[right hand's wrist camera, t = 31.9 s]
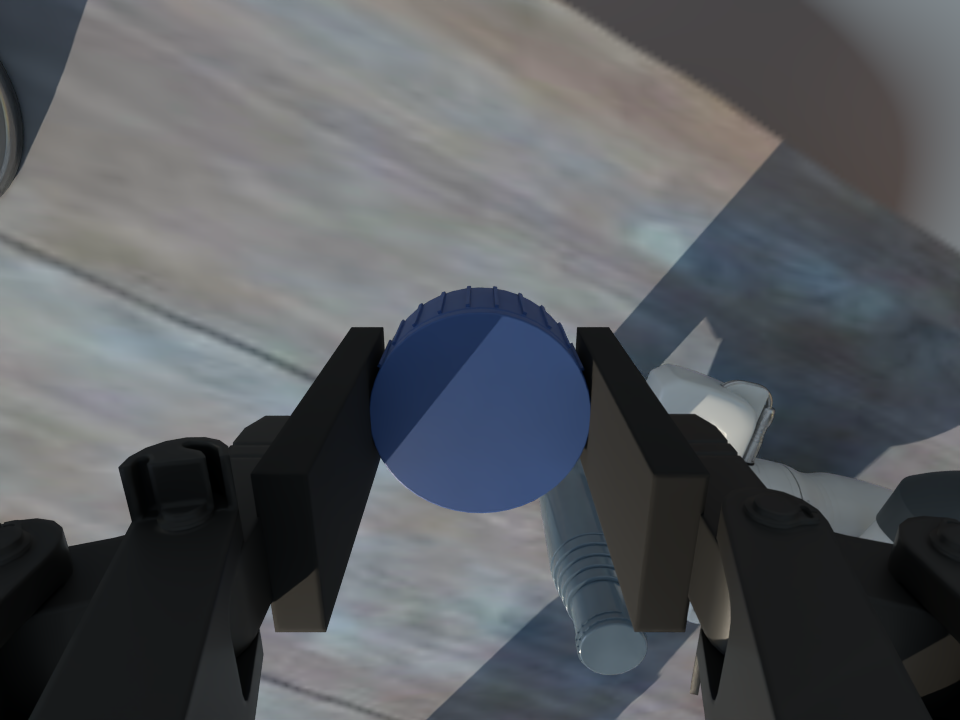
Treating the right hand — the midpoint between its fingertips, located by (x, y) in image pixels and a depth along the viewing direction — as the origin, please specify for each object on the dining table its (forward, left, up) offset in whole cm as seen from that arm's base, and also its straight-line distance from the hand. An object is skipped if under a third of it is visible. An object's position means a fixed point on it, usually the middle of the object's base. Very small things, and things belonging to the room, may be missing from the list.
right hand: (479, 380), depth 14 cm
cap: (0, 0, +2) cm, 2 cm away
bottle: (+18, +7, -31) cm, 36 cm away
